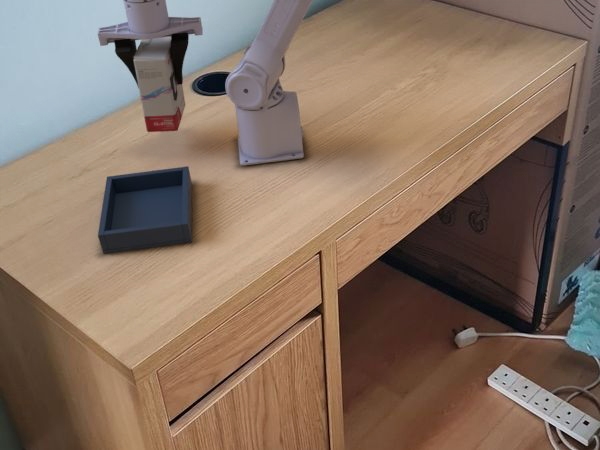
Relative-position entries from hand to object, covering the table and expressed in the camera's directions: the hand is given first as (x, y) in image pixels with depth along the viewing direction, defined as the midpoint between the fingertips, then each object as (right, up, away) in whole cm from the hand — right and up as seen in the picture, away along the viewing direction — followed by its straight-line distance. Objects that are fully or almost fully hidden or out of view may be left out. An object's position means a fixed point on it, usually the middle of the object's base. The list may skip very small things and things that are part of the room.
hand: (161, 83), depth 117 cm
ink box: (0, -5, +4) cm, 6 cm away
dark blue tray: (0, -20, -9) cm, 22 cm away
